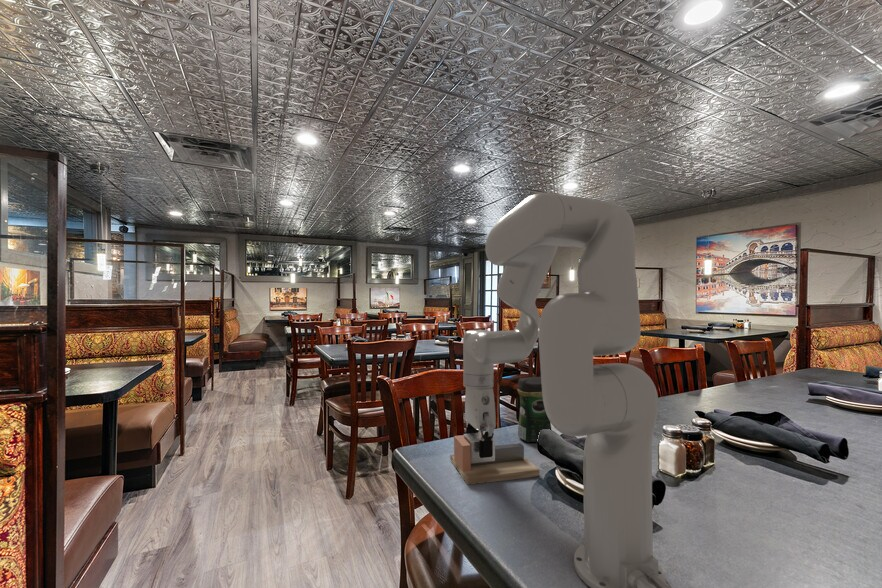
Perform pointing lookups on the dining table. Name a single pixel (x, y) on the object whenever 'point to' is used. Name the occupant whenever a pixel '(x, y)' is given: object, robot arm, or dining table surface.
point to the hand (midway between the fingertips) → (478, 449)
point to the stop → (462, 453)
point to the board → (498, 471)
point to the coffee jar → (531, 409)
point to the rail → (506, 454)
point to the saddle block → (477, 448)
